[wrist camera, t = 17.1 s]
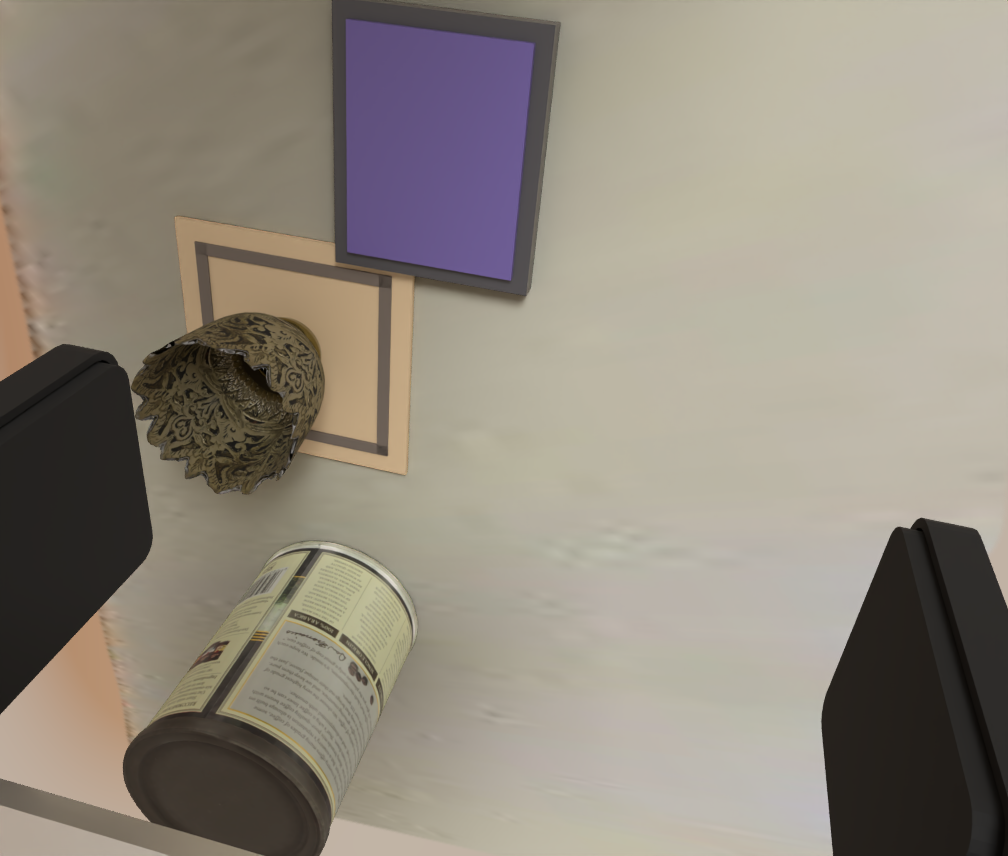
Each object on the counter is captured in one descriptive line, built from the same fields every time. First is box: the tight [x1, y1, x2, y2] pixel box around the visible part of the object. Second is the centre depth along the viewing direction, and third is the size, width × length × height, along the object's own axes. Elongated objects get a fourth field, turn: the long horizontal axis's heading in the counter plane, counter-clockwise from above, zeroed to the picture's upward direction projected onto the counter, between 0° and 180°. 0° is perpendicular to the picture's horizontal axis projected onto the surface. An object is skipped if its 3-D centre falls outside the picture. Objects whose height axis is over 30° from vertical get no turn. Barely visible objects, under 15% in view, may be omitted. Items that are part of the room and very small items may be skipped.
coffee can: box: [123, 541, 418, 856], centre depth 47 cm, size 10×10×14 cm
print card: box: [174, 216, 415, 475], centre depth 44 cm, size 12×12×1 cm
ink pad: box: [332, 0, 560, 296], centre depth 37 cm, size 11×9×1 cm
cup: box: [131, 312, 325, 494], centre depth 40 cm, size 8×7×8 cm
